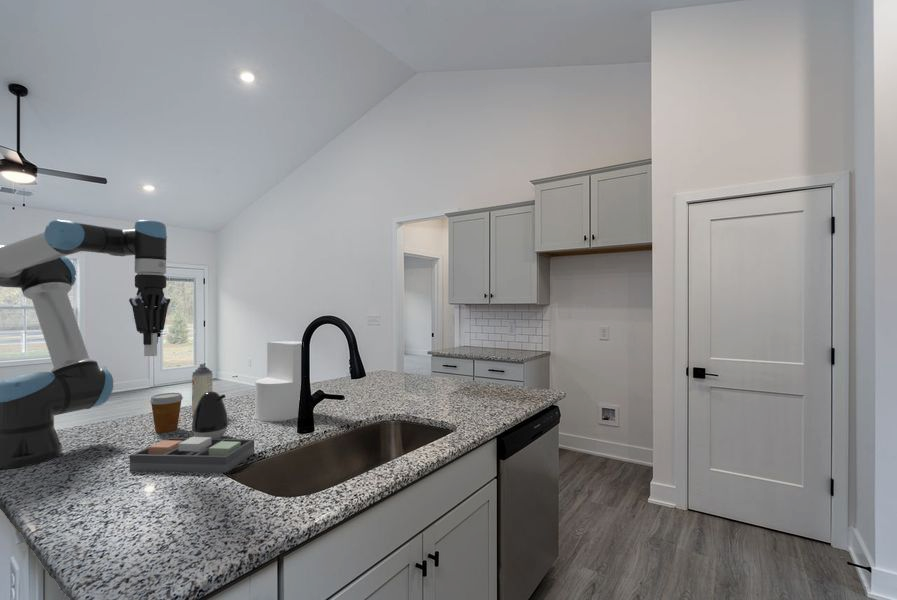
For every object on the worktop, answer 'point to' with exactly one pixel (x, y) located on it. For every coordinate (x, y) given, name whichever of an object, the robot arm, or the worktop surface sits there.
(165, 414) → the disposable coffee cup
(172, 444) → the key terracotta
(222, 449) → the key sage
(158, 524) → the worktop surface
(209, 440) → the key grey
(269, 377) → the white toilet
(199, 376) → the aerosol can
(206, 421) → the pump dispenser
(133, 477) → the worktop surface
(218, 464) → the grey compartment tray
